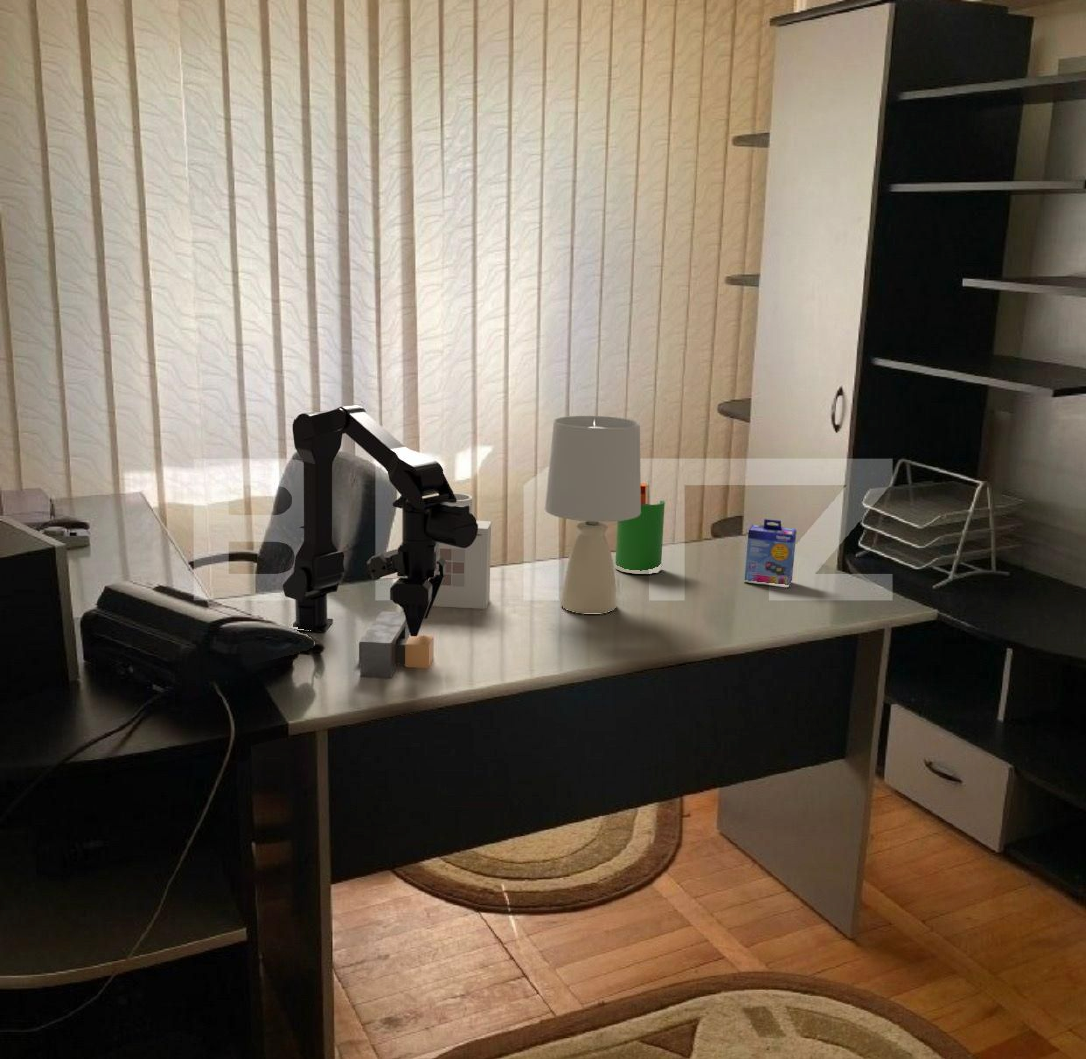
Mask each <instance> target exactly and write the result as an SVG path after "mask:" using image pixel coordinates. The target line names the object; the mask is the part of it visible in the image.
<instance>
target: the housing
mask: <svg viewBox="0 0 1086 1059" xmlns="http://www.w3.org/2000/svg"><path fill="white" fill-rule="evenodd" d="M409 636H410V632H409V629H408V625H407V621H406V618H405V614H404V611H402V612H398V611H386V610H385V611H384V610H383V611H380V613H379V614H378V616H377V617H376V619H375V620H374V622H372V624H371V626H370V627H369V629H367V630H366V632H365V634H364V635H363V636H362V637H363V638H361V639H362V640H361V639H360V640H361V641H360V640H359V642H360V662H359V668H360V670H359V672H360V673H359V675H360V676H359V677H363V678H379V679H392V677H393V675H394V673H395V671H396V668H397V667H396V666H397V664H396V640H397V639H408V638H409Z"/></svg>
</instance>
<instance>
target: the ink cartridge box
mask: <svg viewBox="0 0 1086 1059" xmlns="http://www.w3.org/2000/svg"><path fill="white" fill-rule="evenodd" d="M768 523H773V524H768ZM796 538H797V529H796V528H792V527H791V528H790V527H783V526H782V520H779V519H778V520H776V519H767V518H764V521H763V524H751V525H750V527H749V529H748V533H747V541H746V542H747V543H746V545H747V546H746V557H745V558H746V560H745V568H744V569H745V570H744V578H743V579H744V580H748V581H757V582H766V583H775V584H785V585H790V583H791V581H792V582H793V572H794V563H795V554H796V553H795V552H796V540H797V539H796ZM790 586H791V585H790Z"/></svg>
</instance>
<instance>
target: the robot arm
mask: <svg viewBox="0 0 1086 1059" xmlns="http://www.w3.org/2000/svg"><path fill="white" fill-rule="evenodd" d="M291 427H292V435H293V436H292V437H293V445H294V449H295V451H296V452H297V454H298V455H299V457H300V459H301V460H302V463H303V542H302V544H301V545H300V548H299V549H298V551H297V553H296V554H295V557H294V566H293V572H292V573H291V575H290V576H289V577H288V578H287V579H286V580H285V581H284V583H283V584H282V590H283V593H284V596H285V597H286V598H289V599H292V600H295V601H294V602H295V621H294V622H293V623H292V624H293V627H298V629H304V630H309V631H308V632H312V631H322V632H321V633H325V632H326V631H327V630H326V629H327V628H329V627H330V626H331V625H332V624H333V622H334V619H333V618H328V594H332V593H337V592H338V588H339V585H340V582H341V581H342V578H343V574H344V573H346V569H345V564H344V562H345V560H344V559H345V554H344V551H343V550H339V549H338V548H337V546H336V545H335V543H334V541H333V463H334V460H335V458H336V457H337V455H338V453H339V451H340V449H341V447H342V441H343V435H345V434H346V436H348V437H349V438H351V441H352V440H353V442H355V443H356V444H357V446H359V447H360V448H362V449H363V450H364V451H365V452H366V454H368V455H369V456H370V457H372V458H373V459H374V460H375V461H376V462H377V463H378V464H380V465H381V466H382V467H383V468H384V469H385V470H386V472H387V475H388V476H387V477H388V479H389V482H390V483H391V485H392V486H393V488H394V489H396V491H397V492H398V493H399V494H400V496H399V497H398V498H397V499H396V500H394V501H393V503H392V507H394V508H397V509H402V510H401V511H402V512H401V513H402V516H401V517H402V522H401V523H402V526H401V530H402V531H401V536H402V539H401V540H402V542H401V544H399V545H398V547H397V548H395V549H392V550H389V551H385V552H383V553H378V554H376V555H372V556H371V557H370V558H369V559H368V560H367V562H366V567H367V569H366V572H367V574H369V575H370V576H371V579H372V581H376V580H380V579H381V578H384V577H386V576H390V575H393V574H395V573H396V577H399V578H398V579H396V581H395V582H394V583H393V584H391V587H390V588H389V600H390V601H392V602H393V603H394V604H396V605H398V606H399V607H400V608H402V612H403V613H404V614H405V618H406V621H407V625H408V629H409V632H410V635H411V636H417V635H419V633H420V630H421V627H422V625H423V622H424V620H426V619H428V617H429V615H430V613H431V610H432V607H433V606H432V605H433V603H434V600H435V598H436V596H437V593H438V591H439V588H440V586H441V584H442V581H443V579H444V574H445V573H446V561H445V560H444V559H443V558H442V557H441V556H437V549H438V547H439V543H443V544H447V545H451V546H456V547H460V548H467V547H469V546H470V545H471V544H472V543H473V542H474V540H475V538H476V536H477V533H478V524H477V522H476V521H477V519H476V517H475V516H474V514H473V513H472V514H471V513H469V509H470V507H469V505H464V504H462V505H459V504H454V503H456V502H457V499H456V497H455V495H454V493H455V492H454V491H453V489H452V488H451V485H450V484H449V482H448V479H447V478H446V475H445V474H444V468H443V467H442V465H441V464H440V462H438V461H437V460H435V459H433V458H432V457H430V456H428V455H426V454H424V453H422V452H418V451H414V450H412V449H410V448H408V447H406V446H405V445H404V444H402V443H401V442H400V441H399V440H398V439H397V438H396V437H394V435H392V434H391V433H389V432H388V431H387V430H386V428H384V427H383V426H382V425H381V424H380V423H378V422H377V421H376V420H375V419H373V418H372V417H371V416H370V415H369V414H368V413H367V411H366V409H365V408H364V407H363V406H360V405H357V404H354V405H344V406H339V407H337V408H334V409H332V410H320V411H313V412H304V413H300V414H298V415H297V416H296V418H294V419H293V422H292V426H291ZM438 494H439V495H438ZM431 495H433V496H431ZM436 495H437V496H436ZM438 571H440V575H436V573H437V572H438ZM405 576H407V578H404V577H405ZM331 623H332V624H331ZM330 624H331V625H330ZM310 630H311V631H310ZM325 630H326V631H325ZM324 631H325V632H324Z"/></svg>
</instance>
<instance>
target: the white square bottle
mask: <svg viewBox="0 0 1086 1059" xmlns="http://www.w3.org/2000/svg"><path fill="white" fill-rule="evenodd" d="M453 493H454V495H455V497H456V499H457V502H456V503H454V504H459V505H462V504H464V505H469V507H470V509H469V513H471V514H472V515H473V497H472V496H471V495H470V494H467V493H460V492H459V493H458V492H457V493H456V492H453ZM437 495H439V494H438V493H437V494H435V496H437ZM476 522H477V524H478V533H477V536H476V538H475V540H474V542H473V543H472V544H471V545H470V546H469V547H467V548H460V547H456V546H451V545H447V544H443V543H439V547H438V549H437V556H441V557H442V558H443V559H444V560H445V561H446V573H445V574H444V579H443V581H442V584H441V586H440V588H439V591H438V593H437V596H436V598H435V600H434V603H433V605H432V607H437V608H438V607H440V608H441V607H443V608H461V609H462V608H463V609H479V610H480V609H481V610H486V609H488V608H487V607H488V606H489V603H490V599H491V597H490V593H491V592H490V590H491V588H490V587H491V555H492V554H491V550H492V549H491V546H492V545H491V543H492V541H491V540H492V521H491V520H489V521H487V520H476ZM436 575H440V571H438V572H437V573H436ZM403 578H407V576H405V577H403Z"/></svg>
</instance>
